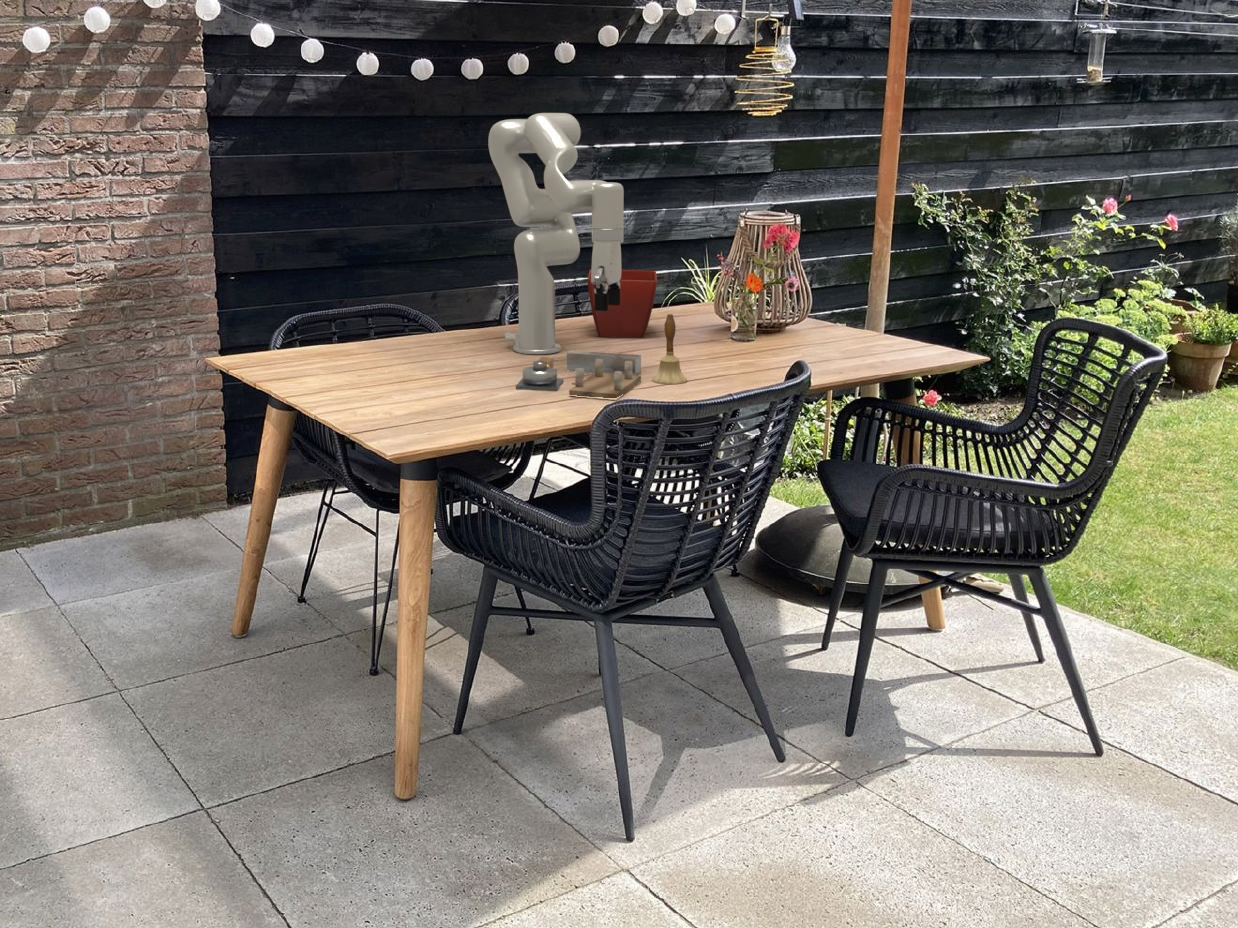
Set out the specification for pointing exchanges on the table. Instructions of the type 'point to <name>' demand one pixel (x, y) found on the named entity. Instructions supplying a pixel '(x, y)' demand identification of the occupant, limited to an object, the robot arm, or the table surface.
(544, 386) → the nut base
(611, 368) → the grey joined blocks
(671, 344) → the hand bell
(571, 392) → the rack
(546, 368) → the domed call bell
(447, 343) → the table surface
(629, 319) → the plant pot
